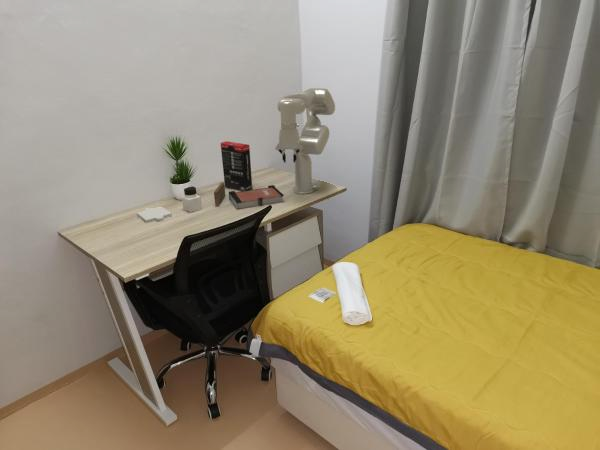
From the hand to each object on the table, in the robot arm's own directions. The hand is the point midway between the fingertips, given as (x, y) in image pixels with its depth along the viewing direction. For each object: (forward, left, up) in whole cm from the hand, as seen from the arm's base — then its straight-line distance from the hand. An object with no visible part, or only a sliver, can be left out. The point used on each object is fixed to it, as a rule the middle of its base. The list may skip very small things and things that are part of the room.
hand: (289, 161), depth 207 cm
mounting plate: (+68, +20, -23) cm, 74 cm away
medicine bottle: (+51, +11, -23) cm, 57 cm away
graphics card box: (+33, -22, -23) cm, 46 cm away
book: (+19, -1, -23) cm, 30 cm away
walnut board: (+39, -1, -22) cm, 45 cm away
